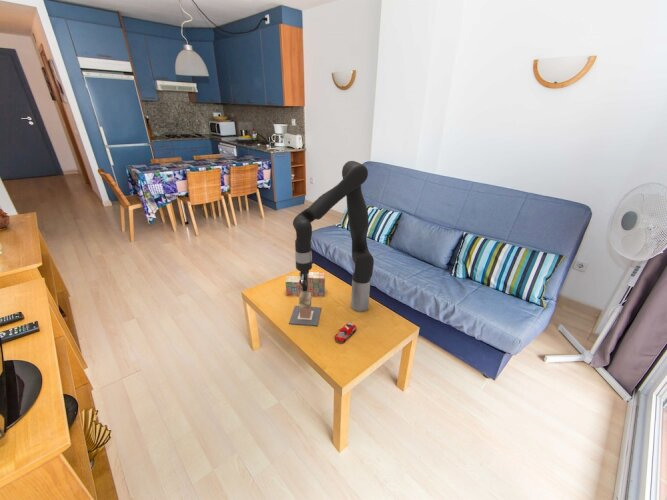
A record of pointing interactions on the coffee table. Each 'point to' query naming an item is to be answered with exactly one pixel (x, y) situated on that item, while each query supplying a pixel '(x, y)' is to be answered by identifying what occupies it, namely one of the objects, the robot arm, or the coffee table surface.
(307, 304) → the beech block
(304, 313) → the block
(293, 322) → the board
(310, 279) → the stack of blocks
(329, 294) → the coffee table surface
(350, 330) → the race car
